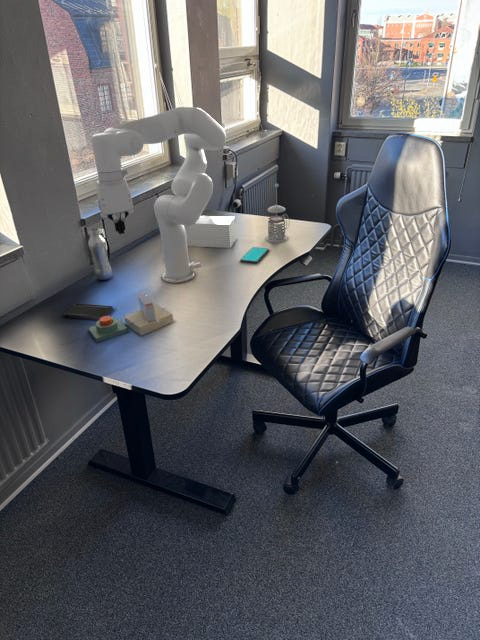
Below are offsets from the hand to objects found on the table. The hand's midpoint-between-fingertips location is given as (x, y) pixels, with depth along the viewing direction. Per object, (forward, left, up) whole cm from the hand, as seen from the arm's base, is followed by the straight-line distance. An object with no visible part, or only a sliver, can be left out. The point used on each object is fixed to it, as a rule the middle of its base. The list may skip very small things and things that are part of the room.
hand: (121, 232), depth 152 cm
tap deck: (+2, +19, -25) cm, 32 cm away
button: (+15, +16, -22) cm, 31 cm away
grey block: (+2, +19, -22) cm, 29 cm away
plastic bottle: (+2, -25, -25) cm, 36 cm away
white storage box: (-47, -36, -25) cm, 64 cm away
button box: (+15, +16, -25) cm, 33 cm away
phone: (+16, 0, -25) cm, 30 cm away
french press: (-77, -16, -25) cm, 83 cm away
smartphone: (-57, -6, -25) cm, 63 cm away
